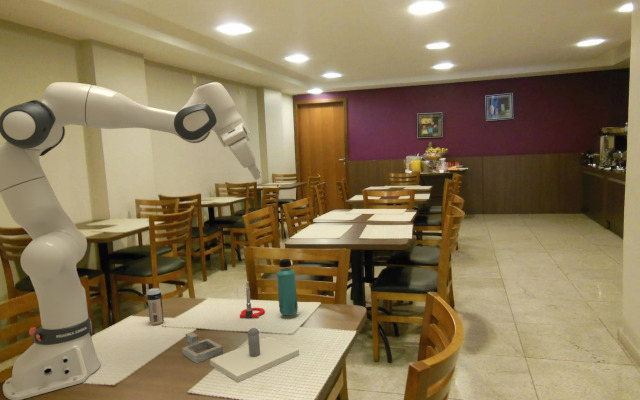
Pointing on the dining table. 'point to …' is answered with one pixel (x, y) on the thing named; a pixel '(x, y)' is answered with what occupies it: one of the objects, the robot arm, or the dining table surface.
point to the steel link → (195, 346)
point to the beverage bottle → (287, 288)
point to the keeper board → (253, 357)
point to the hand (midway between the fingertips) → (258, 176)
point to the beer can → (155, 306)
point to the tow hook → (249, 311)
